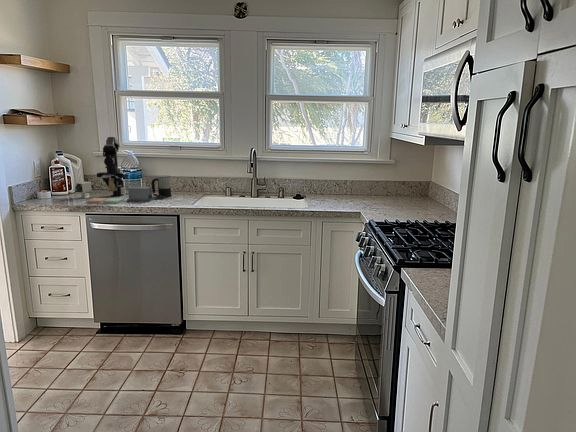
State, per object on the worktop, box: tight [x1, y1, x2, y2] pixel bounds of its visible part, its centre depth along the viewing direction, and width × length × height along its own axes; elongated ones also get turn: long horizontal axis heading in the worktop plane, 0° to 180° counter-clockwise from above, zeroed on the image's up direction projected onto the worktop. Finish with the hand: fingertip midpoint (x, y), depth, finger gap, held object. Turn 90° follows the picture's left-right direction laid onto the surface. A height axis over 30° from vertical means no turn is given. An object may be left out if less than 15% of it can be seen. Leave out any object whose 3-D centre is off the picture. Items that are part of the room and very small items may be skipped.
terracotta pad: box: [85, 197, 109, 204], centre depth 292 cm, size 10×10×2 cm
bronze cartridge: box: [108, 178, 117, 192], centre depth 288 cm, size 5×5×8 cm
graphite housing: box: [127, 186, 155, 202], centre depth 297 cm, size 8×16×9 cm, turn 84°
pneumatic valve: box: [75, 181, 94, 199], centre depth 304 cm, size 6×12×12 cm, turn 155°
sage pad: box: [102, 197, 125, 205], centre depth 290 cm, size 10×10×2 cm
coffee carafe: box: [150, 175, 172, 199], centre depth 308 cm, size 14×16×15 cm
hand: (112, 187), depth 288 cm, fingers closed on bronze cartridge, 5 cm apart
